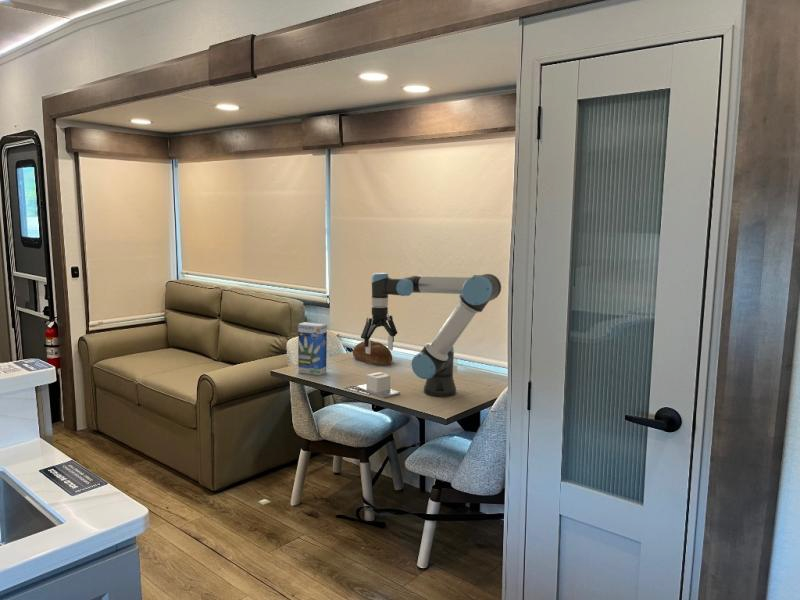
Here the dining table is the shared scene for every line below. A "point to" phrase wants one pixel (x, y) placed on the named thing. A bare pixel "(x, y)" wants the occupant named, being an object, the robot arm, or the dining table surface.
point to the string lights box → (312, 348)
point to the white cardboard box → (378, 382)
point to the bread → (373, 354)
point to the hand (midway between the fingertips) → (379, 351)
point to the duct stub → (381, 394)
